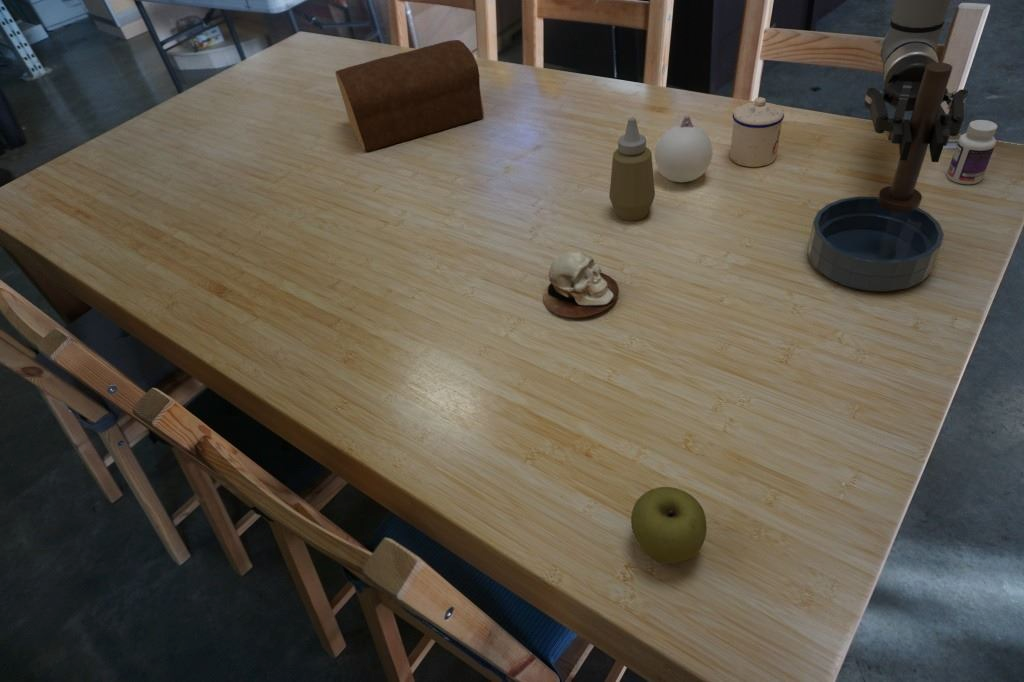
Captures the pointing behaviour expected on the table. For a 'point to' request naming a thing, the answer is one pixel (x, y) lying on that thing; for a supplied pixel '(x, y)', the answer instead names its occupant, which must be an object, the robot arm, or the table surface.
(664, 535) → the apple
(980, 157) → the pill bottle
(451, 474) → the table surface
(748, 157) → the teacup with lid
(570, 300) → the skull
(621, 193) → the squeeze bottle
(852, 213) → the bowl
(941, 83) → the stirrer
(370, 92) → the bread
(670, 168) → the ornament
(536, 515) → the table surface
